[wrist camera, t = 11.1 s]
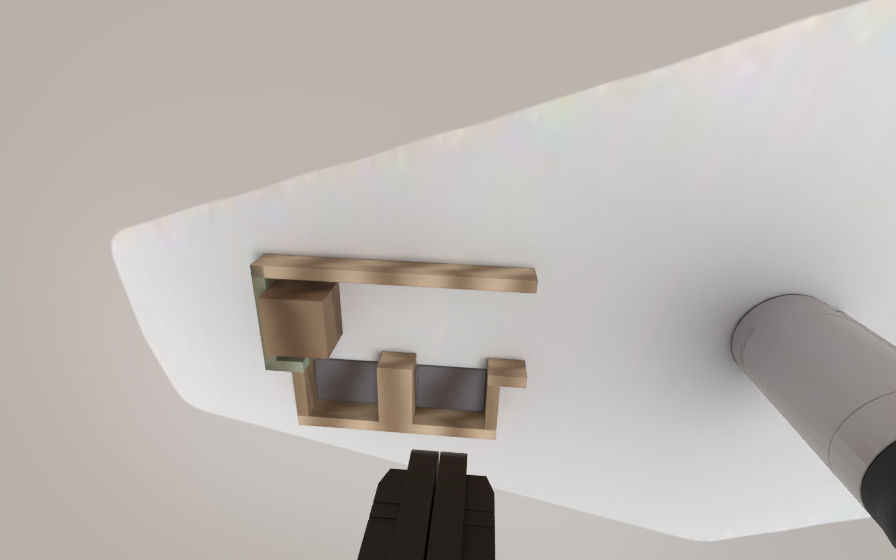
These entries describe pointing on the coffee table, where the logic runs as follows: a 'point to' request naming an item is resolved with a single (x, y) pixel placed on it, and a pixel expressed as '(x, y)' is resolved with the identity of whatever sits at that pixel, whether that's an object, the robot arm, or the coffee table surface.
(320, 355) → the walnut block
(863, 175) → the coffee table surface
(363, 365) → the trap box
